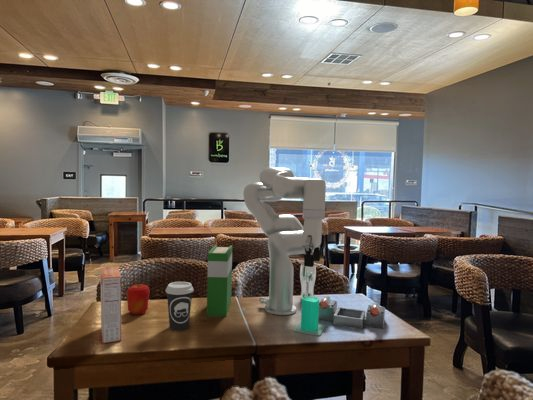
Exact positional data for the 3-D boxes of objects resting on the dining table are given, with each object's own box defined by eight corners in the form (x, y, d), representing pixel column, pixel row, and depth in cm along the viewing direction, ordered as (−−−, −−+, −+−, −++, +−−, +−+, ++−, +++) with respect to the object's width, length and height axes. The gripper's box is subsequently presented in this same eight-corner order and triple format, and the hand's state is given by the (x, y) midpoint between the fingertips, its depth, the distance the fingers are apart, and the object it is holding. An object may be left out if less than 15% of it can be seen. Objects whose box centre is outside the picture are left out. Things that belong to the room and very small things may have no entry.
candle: (301, 330, 132) (302, 296, 131) (300, 324, 138) (301, 291, 137) (318, 331, 132) (319, 297, 131) (317, 325, 138) (318, 292, 137)
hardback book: (213, 301, 163) (214, 245, 161) (231, 301, 163) (232, 245, 161) (206, 316, 145) (207, 253, 144) (226, 316, 145) (227, 253, 144)
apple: (135, 307, 152) (135, 278, 151) (154, 310, 150) (154, 280, 149) (121, 315, 144) (121, 284, 143) (141, 317, 142) (141, 286, 141)
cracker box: (100, 327, 131) (100, 267, 130) (119, 325, 134) (119, 266, 133) (100, 344, 118) (101, 277, 117) (121, 341, 121) (122, 275, 120)
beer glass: (314, 301, 166) (315, 266, 166) (298, 299, 168) (299, 265, 167) (315, 296, 173) (316, 263, 172) (300, 295, 175) (301, 262, 174)
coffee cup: (198, 324, 137) (198, 282, 136) (184, 334, 128) (184, 289, 127) (174, 320, 140) (175, 279, 139) (159, 330, 131) (159, 286, 130)
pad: (294, 331, 132) (294, 330, 132) (300, 322, 141) (300, 321, 141) (319, 336, 129) (320, 335, 129) (325, 326, 138) (325, 325, 138)
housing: (314, 322, 142) (315, 307, 141) (321, 311, 154) (322, 297, 153) (382, 332, 134) (383, 316, 133) (384, 320, 145) (385, 305, 145)
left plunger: (319, 308, 141) (319, 300, 141) (323, 302, 148) (323, 294, 148) (327, 309, 140) (327, 301, 140) (330, 303, 147) (331, 295, 147)
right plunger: (369, 315, 135) (370, 307, 135) (371, 309, 142) (371, 301, 142) (378, 317, 134) (379, 308, 134) (380, 310, 141) (380, 302, 141)
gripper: (309, 212, 142) (307, 258, 143) (296, 215, 126) (294, 267, 127) (329, 213, 140) (327, 259, 140) (319, 217, 123) (317, 270, 124)
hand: (312, 263), depth 134 cm, fingers open, 9 cm apart
